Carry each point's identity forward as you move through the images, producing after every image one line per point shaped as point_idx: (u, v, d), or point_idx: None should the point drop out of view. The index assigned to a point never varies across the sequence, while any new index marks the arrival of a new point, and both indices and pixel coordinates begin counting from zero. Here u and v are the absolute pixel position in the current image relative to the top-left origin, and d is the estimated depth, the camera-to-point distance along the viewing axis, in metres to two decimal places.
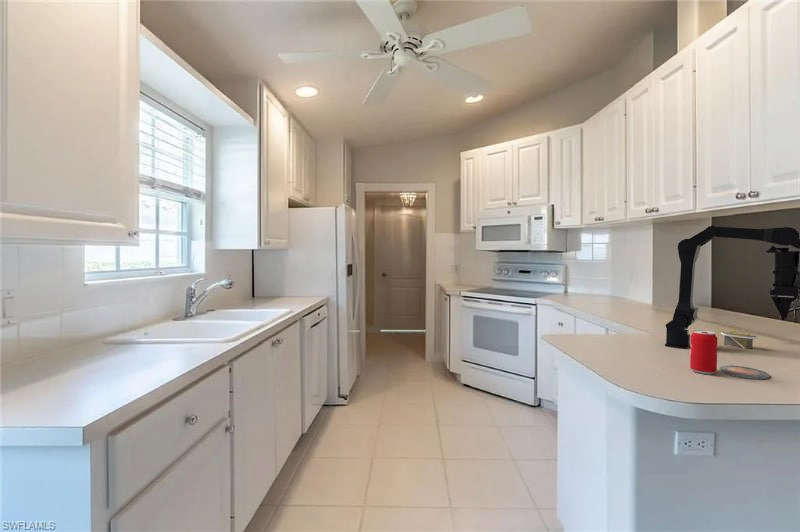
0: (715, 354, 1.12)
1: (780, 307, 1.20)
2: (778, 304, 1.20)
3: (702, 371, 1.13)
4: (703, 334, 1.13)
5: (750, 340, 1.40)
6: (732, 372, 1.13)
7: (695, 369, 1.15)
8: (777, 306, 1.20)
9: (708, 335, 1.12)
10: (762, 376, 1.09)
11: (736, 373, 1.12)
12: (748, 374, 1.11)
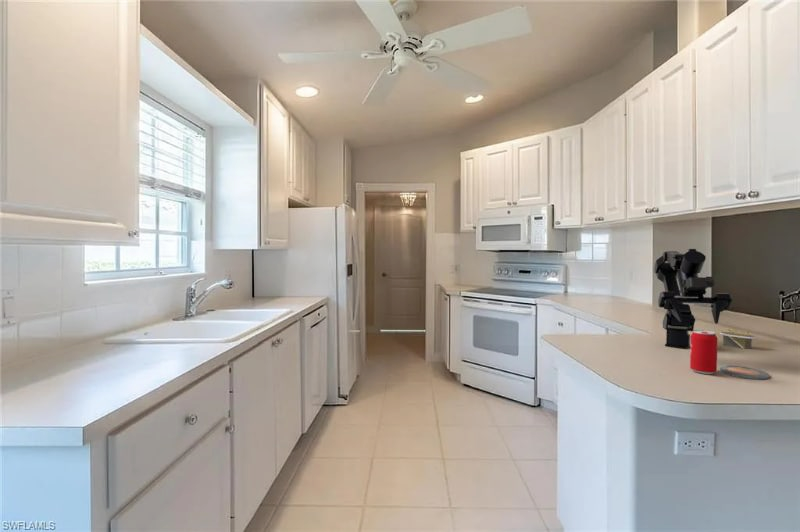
0: (715, 354, 1.12)
1: (674, 313, 1.27)
2: (672, 312, 1.28)
3: (702, 371, 1.13)
4: (703, 334, 1.13)
5: (749, 340, 1.41)
6: (732, 372, 1.13)
7: (695, 369, 1.15)
8: (673, 314, 1.27)
9: (708, 335, 1.12)
10: (762, 376, 1.09)
11: (736, 373, 1.12)
12: (748, 374, 1.11)
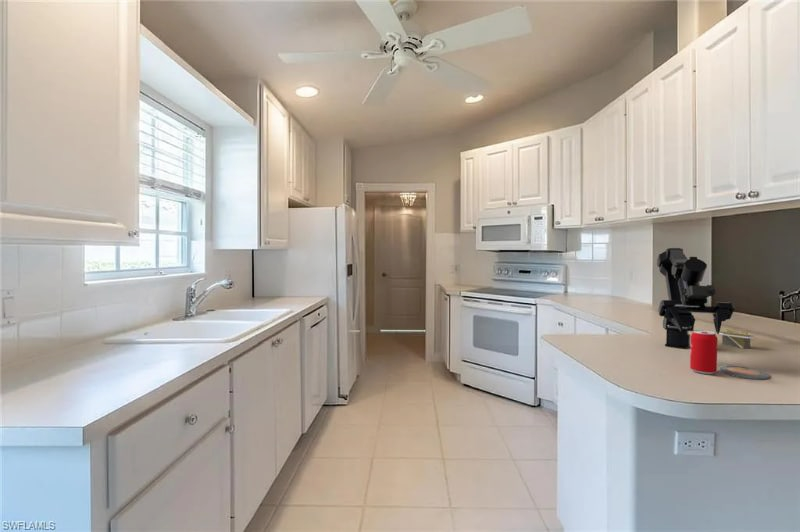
0: (715, 354, 1.12)
1: (674, 322, 1.24)
2: (673, 321, 1.25)
3: (702, 371, 1.13)
4: (703, 334, 1.13)
5: (748, 340, 1.41)
6: (732, 372, 1.13)
7: (695, 369, 1.15)
8: (673, 323, 1.25)
9: (708, 335, 1.12)
10: (762, 376, 1.09)
11: (736, 373, 1.12)
12: (748, 374, 1.11)
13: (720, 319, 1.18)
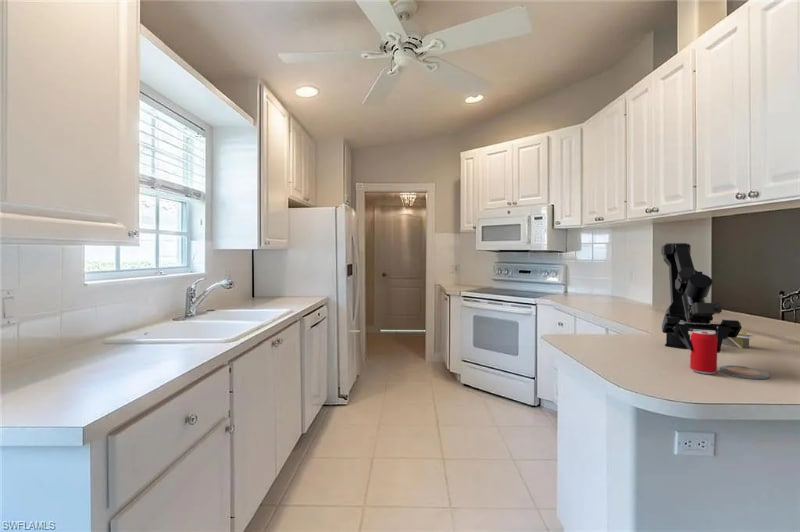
0: (715, 354, 1.12)
1: (684, 341, 1.18)
2: (682, 339, 1.19)
3: (702, 371, 1.13)
4: (703, 334, 1.13)
5: (747, 340, 1.41)
6: (732, 372, 1.13)
7: (695, 369, 1.15)
8: (683, 341, 1.19)
9: (708, 335, 1.12)
10: (762, 376, 1.09)
11: (736, 373, 1.12)
12: (748, 374, 1.11)
13: (721, 337, 1.14)
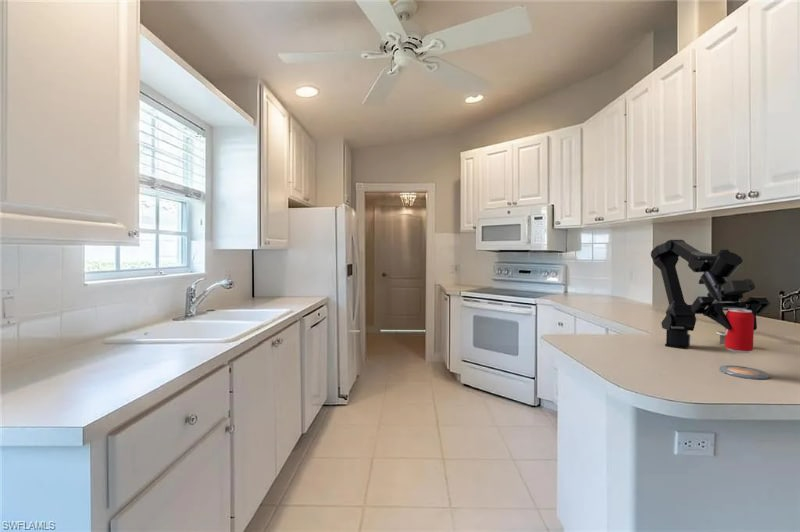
0: (753, 332, 1.11)
1: (719, 320, 1.15)
2: (716, 318, 1.16)
3: (742, 350, 1.11)
4: (743, 312, 1.11)
5: None
6: (732, 372, 1.13)
7: (734, 348, 1.12)
8: (717, 320, 1.16)
9: (748, 313, 1.10)
10: (762, 376, 1.09)
11: (736, 373, 1.12)
12: (748, 374, 1.11)
13: (754, 315, 1.13)
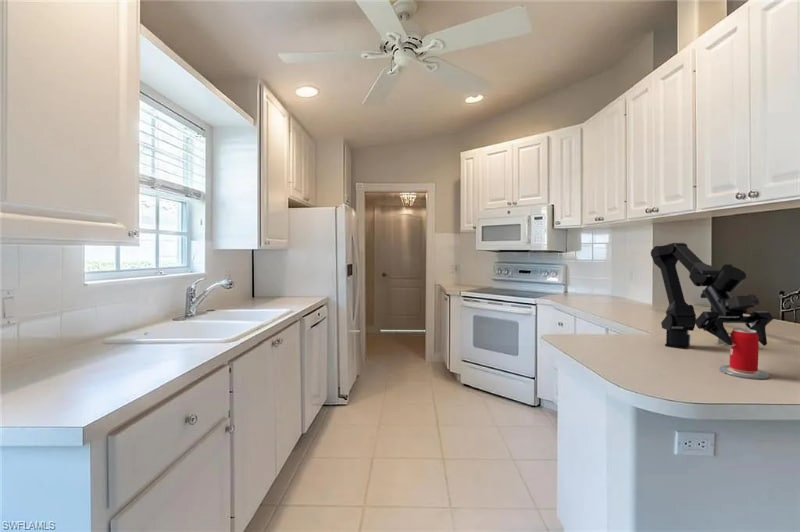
0: None
1: (719, 335, 1.15)
2: (716, 334, 1.16)
3: (748, 370, 1.11)
4: (748, 333, 1.11)
5: None
6: (732, 372, 1.13)
7: (740, 369, 1.12)
8: (717, 336, 1.16)
9: (753, 333, 1.11)
10: (762, 376, 1.09)
11: (736, 373, 1.12)
12: (748, 374, 1.11)
13: (763, 330, 1.13)
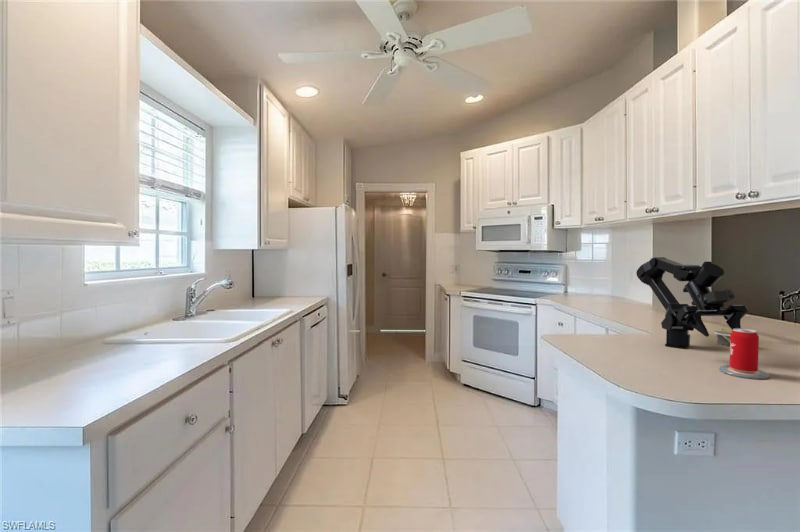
0: None
1: (697, 328, 1.25)
2: (695, 326, 1.26)
3: (748, 370, 1.11)
4: (748, 333, 1.11)
5: None
6: (732, 372, 1.13)
7: (740, 369, 1.12)
8: (696, 328, 1.26)
9: (753, 333, 1.11)
10: (762, 376, 1.09)
11: (736, 373, 1.12)
12: (748, 374, 1.11)
13: (738, 322, 1.23)
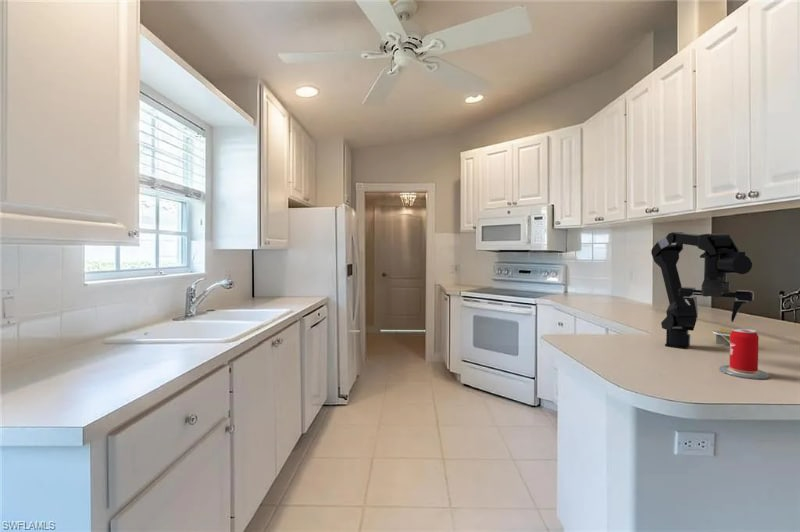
0: None
1: None
2: None
3: (748, 370, 1.11)
4: (748, 333, 1.11)
5: None
6: (732, 372, 1.13)
7: (740, 369, 1.12)
8: None
9: (753, 333, 1.11)
10: (762, 376, 1.09)
11: (736, 373, 1.12)
12: (748, 374, 1.11)
13: (736, 309, 1.22)
